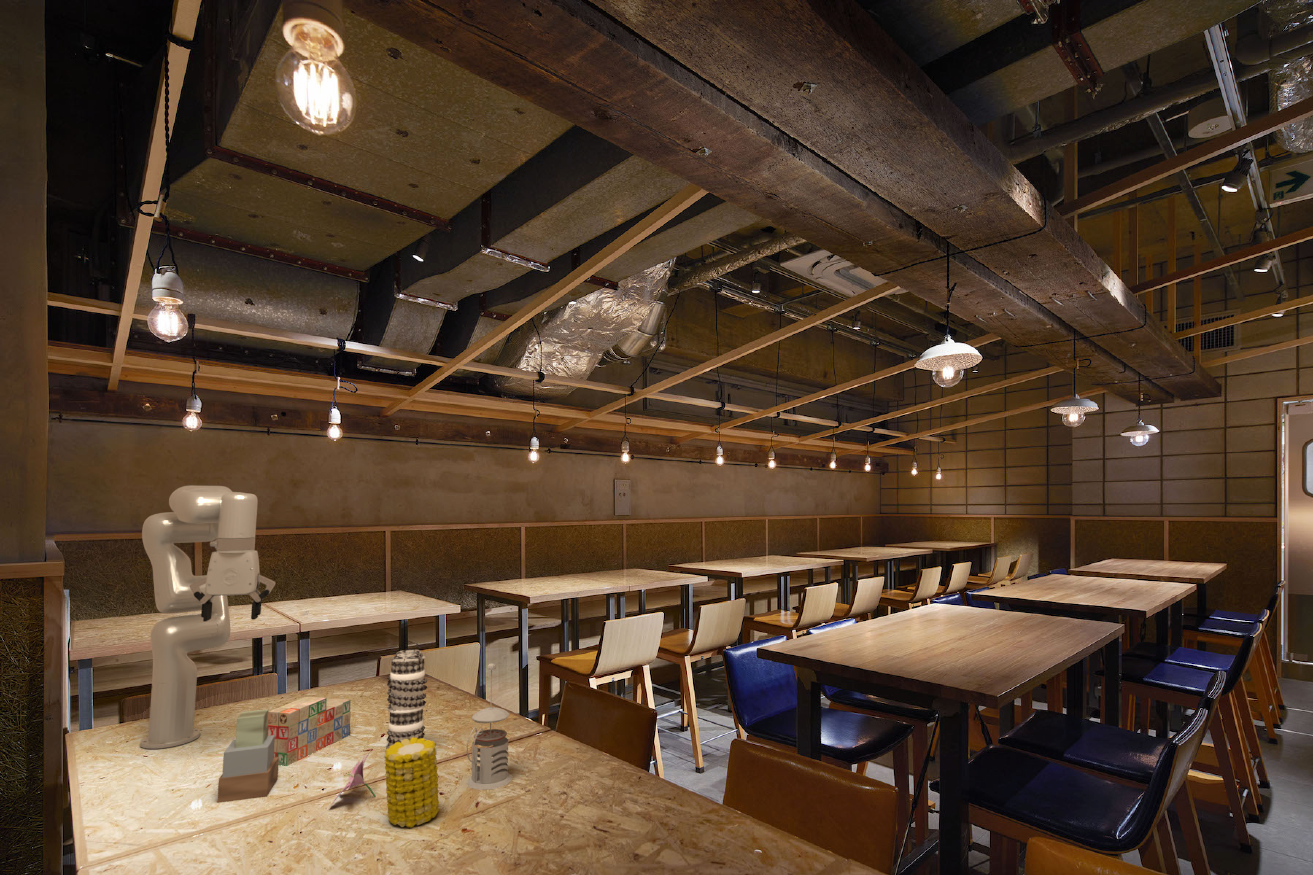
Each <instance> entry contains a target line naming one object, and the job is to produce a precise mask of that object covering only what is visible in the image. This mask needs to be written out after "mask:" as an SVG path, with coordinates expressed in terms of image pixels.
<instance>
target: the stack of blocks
mask: <svg viewBox="0 0 1313 875" xmlns="http://www.w3.org/2000/svg"><path fill="white" fill-rule="evenodd" d="M350 732H351V699H344V698H329V699H327V697H316V696H304V697H302V698H299V699H297V700H294V701H292V702H290V703H287V704H285V705H282V706H280V707H277V708H273V709H272V710H269V713H268V734H267V736H271V735H275V743H274V758H275V757H279V764H278V766H281V765H282V766H281V767H288V766H290V765H292V763H293V764H294V763H296V762H298V761H301V760H303V759H305V758H307V757H309V756H311V755H313V754H315V753H316V751H317V752H318V750H319V751H321V750H323V749H325V748H326V746H327V747H328V745H329V746H331V745H332V744H335V743H337V742H339V741H340V739H341V740H342V739H344V737H345V738H346V737H349V736H350V734H351V733H350ZM348 735H349V736H348ZM322 748H323V749H322ZM312 753H313V754H312ZM308 755H309V756H308Z"/></svg>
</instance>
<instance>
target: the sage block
mask: <svg viewBox="0 0 1313 875" xmlns="http://www.w3.org/2000/svg"><path fill="white" fill-rule="evenodd" d="M269 711H270V710H269V709H267V708H266V709H259V710H258V709H257V710H249V711H242V712H241V713H240V715H239V716H238V717H237V718H236V724H235V725H236V726H235V727H236V728H235V740H236V742H235V748H242V747H250V746H259V745H263V743H264V742H265V740H266V739H267V734H268V713H269Z"/></svg>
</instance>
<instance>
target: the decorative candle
mask: <svg viewBox="0 0 1313 875" xmlns="http://www.w3.org/2000/svg"><path fill="white" fill-rule="evenodd" d="M426 657H427V656H426V655H425V654H423V652H422V651H421V650H419V649H413V648H412V649H404V650H400V651H398V652H396V653H395V654H394V656H393V657H391V659H390V661H391V663H390V664H391V667H390V668H391V669H390V675H389V676H387V679H386V680H388V681H387V683H386V685H387V687H388V690H387V692H386V694H387V695H388V696H387V699H386V701H388V706H387V711H388V712H389V722H388V729H387V731H386V734H387V737H386V741H387V744H386V746H385V749H389V747H390V746H391V745H394V744H395V743H396V742H400V743H401V741H403V740H404V739H409V740H410V739H411V738H412V737H414V738H417V739H420V738H424V737H425V734H426V733H425V732H424V731H425V729H426V727H425V724H424V720H425V718H424V716H423V715H424V709H425V707H426V704H427V701H426V700H424V699H425V698H427V694H426V693H424V691H425V690H427V689H428V686H427V685H425V684H427V683H428V679H427V678H426V677H425V676H426V669H425V659H426ZM424 677H425V678H424Z"/></svg>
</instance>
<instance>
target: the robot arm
mask: <svg viewBox="0 0 1313 875" xmlns="http://www.w3.org/2000/svg"><path fill="white" fill-rule="evenodd" d="M168 498H169V499H168V505H169V508H170V509H171V512H169V511H168V512H159V513H155V514H152V515H150V516H148V517H147V518H146V519H145V520H144V523H143V525H142V531H141V538H142V543H143V547H144V548H143V549H144V550H145V553H146V555H147V557H148V558H149V560H150V563H151V566H152V579H153V587H154V588H153V590H154V591H153V592H154V600H155V606H156V609H157V610H158V612H160V613H162V614H178V613H179V614H181V613H191V612H198V611H201V613H197V614H196V613H195V614H186V615H179V616H172V617H167V618H164V619H161V620H159V621H158V622H157V623H155V624H154V625H153V627H152V629H151V632H150V644H151V645H150V647H151V652H152V653H151V654H152V675H151V676H152V678H151V691H150V692H151V693H150V694H151V695H150V709H149V720H148V721H149V723H148V735H146V736H145V737H143V738H142V739H141V740H140V743H139V746H140V747H141V748H143V749H147V750H148V749H149V750H151V749H154V750H155V749H156V750H157V749H166V748H172V747H177V746H181V745H184V744H187V743H190V742H194V741H195V740H197V739H198V738H200V736H201V733H202V732H201V729H199V728H195V711H196V699H197V698H196V696H197V680H198V668H197V665H196V663H195V662H194V661H193V660H192V659H191V658H190V657H189V656H188V653H192V652H194V651H195V652H196V651H202V650H208V649H215V648H219V647H222V646H224V645H225V644H227V642H228V641H229V639H230V637H231V619H230V610H229V603H228V602H229V601H228V596H247V595H249V596H250V597H251V598H252V599H253V602H252V603H251V611H250V612H251V613H250V614H251V616H250V619H251V620H252V621H255V620H256V619H258V617H259V616H261V613H262V602H263V600H264V599H265V598H266V597H267V596H269V594H271V592H272V590H273V589H274V587H275V586H276V581H275V580H272V579H270V578H267V577H266V576H264V575H261V574H260V559H259V552H258V550H255V548H256V545H255V544H256V532H257V531H256V530H257V517H258V515H257V514H258V497H257V495H256V494H253V493H247V492H239V491H238V492H237V491H232V489H230V488H229V487H227V486H224V485H191V484H190V485H184V486H181V487H178V488H176V489H175V490H174V491H173V492H172V493H170V496H169V497H168ZM207 542H209V547H213V548H215V551H212V552H211V555H210V557H209V558H210V559H209V563H208V567H207V573H206V574H205V575H194V574H193V572H192V571H193V570H192V561H191V558H190V557H189V556H188V554H186V553H185V552H184V550H182V549H181V548H180V547H178V546H176V545H175V544H178V543H179V544H180V543H182V544H183V543H184V544H185V543H188V544H189V543H207ZM260 584H263V585H265V586H266V587H265V589H264V590H263V591H262V592H260V591H259V587H260Z"/></svg>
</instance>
